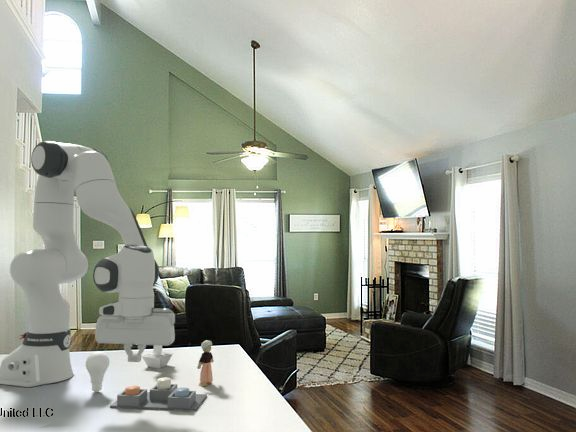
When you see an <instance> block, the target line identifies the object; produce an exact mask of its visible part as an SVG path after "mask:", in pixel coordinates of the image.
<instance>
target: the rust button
mask: <svg viewBox="0 0 576 432" xmlns="http://www.w3.org/2000/svg"><path fill="white" fill-rule="evenodd" d="M140 389H141V387H140V386H138V385H131V386H126V387H125V388H124V390H125V395H139V394H140Z"/></svg>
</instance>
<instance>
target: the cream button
mask: <svg viewBox="0 0 576 432" xmlns="http://www.w3.org/2000/svg"><path fill="white" fill-rule="evenodd" d="M156 384H157V390H170V389H171V384H172V378H170V377H166V376H165V377H159V378H157V380H156Z"/></svg>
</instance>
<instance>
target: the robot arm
mask: <svg viewBox="0 0 576 432" xmlns="http://www.w3.org/2000/svg"><path fill="white" fill-rule="evenodd" d="M30 157H31V158H30V160H31V163H30V164H31V166H32V168H33V171H34V172H35V173H36V174H37V175H38V178H37V180H36V185H35V190H34V191H35V192H34V200H33V216H32V217H33V221H32V227H33V230H34V231H35V233H36V234H37V235H39V236H40V237H41V239H42V241H43V245H44V248H38V249H37V248H35V249H30V250H27V251H24V252H19V253H18V254H16V255H15V256H14V257H13V259H12V261H11V262H10V264H9V265H10V266H9V272H10V273H9V274H10V276H11V278H12V281H14V282H15V284H17V285H18V286H19V287H20V288H21V289H22V291H23V293H24V294H25V297H26V300H27V303H28V304H27V305H28V331H26V332H24V333H23V334H20V335H19V337H20V338H19V340H23V341H22V344H20V345H19V346H18V347H17V348H15V349H14V350H13V351H11V352H9V354H8V355H6V356H5V357H4V358H3V359H2V360H1V363H0V385H7V386H8V385H9V386H15V387H25V388H31V387H32V388H33V387H36V386H40V385H47V384H53V383H54V384H55V383H58V382H62V381H66V380H68V379H70V378H72V377H73V376H74V372H73V371H74V370H73V368H72V364H71V363H72V362H71V355H70V348H71V347H70V346H71V335H72V334H71V333H72V332H71V331H72V330H71V329H70V315H71V313H70V312H71V305H70V302H69V301H68V300H67V299H65V298H64V297H63V296H62V293H61V291H60V285H61V284H69V283H72V282H75V281H78V280H80V279H82V278H83V277H84V276H85V275H86V274H87V272H88V268H89V261H88V258H87V256H86V255H85V253H83V252H82V250H81V249H80V247H79V245H78V242H77V239H76V236H75V235H76V234H75V229H74V228H75V226H74V215H75V214H74V209H75V196H76V201H77V203H78V206H79V208H80V210H81V211H82V212H83V214H85V216H88V217H89V218H91V219H93V220H96V221H99V222H101V223H103V224H106V225H107V226H110V227H111V228H113V229H114V230H116V232H118V234H120V236H121V239H122V242H123V244H124V246H123V247H122V248H121V250H120V251H117V253H114V254H112V255H109V256H107V257H103V258H101V259H100V260H98V261H97V263H96V264H95V266H94V269H93V274H92V275H93V276H92V278H93V282H94V286H95V287H96V288H97V290H99V291H100V292H102V293H108V294H109V293H118V301H117V300H116V301H113V302H111V303H108V304H106V305H103V306H100V307H99V308H98V309H99V311H98V313H99V317H98V318H97V321H96V325H95V333H94V339H95V341H96V342H97V344H110V345H111V344H114V345H115V344H116V345H123V350H124V352H125V353H126V355H127V362H128V363H129V362H130V363H133V362H134V363H140V362H141V361H142V355H143V353H144V351H145V350H146V348H147V346H154V345H161V346H162V347H163V346H165V347H166V346H167V347H168V346H170V345H172V344H173V343H174V342H175V339H176V338H175V337H176V333H175V324H176V313H174V311H173V310H171V309H170V308H168V307H167V308H161V307H159V308H158V307H155V292H154V286H155V285H156V283H157V282H158V280H159V276H160V268H159V265H158V263H157V260H156V259H155V255H154V252H153V250H152V249H151V247H148V245H147V242H146V238H145V235H144V234H143V232H142V229H141V227H140V225H139V222H138V219H137V217H136V215H135V213H134V210H132V208H131V207H130V206H129V205H128V204H127V203H126V202H125V200H124V199H123V197H122V195H121V194H120V192H119V190H118V189H119V188H118V187H117V183H116V179H115V176H114V173H113V170H112V167H111V166H110V163H109V160H108V157H107V155H106V154H105V153H104V152H103V151H101V150H99V149H97V148H91V147H87V146H84V145H80V144H75V143H65V142H56V141H53V140H52V141H51V140H46V141H45V140H44V141H40V142H39V143H37V144H36V145H35V147H34V148H33V149H32V151H31V156H30ZM133 345H137V349H138V352H137V353H134V352H133V350H132V347H133Z"/></svg>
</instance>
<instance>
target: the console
mask: <svg viewBox="0 0 576 432" xmlns="http://www.w3.org/2000/svg"><path fill="white" fill-rule="evenodd" d="M177 388H178V383H171V389H170V390H157V383H156V384H154V386H152V388H150V389H149V391H148V388H140V394H139V395H125V389H123V390H122V391H121V392H119V394H117V397H116V401H114V402H113V403H112V404H110V405H109V408H111V409H112V408H113V409H114V408H115V409H134V410H135V409H136V410H137V409H138V410H139V409H140V410H159V411H161V410H162V411H183V412H184V411H186V412H196V411H198V409H199V408H200V406H201V405H202V403H203V402H204V401H205V399H206V398H207V397H208V394H205V393H204V394H202V393H197V391H196V390H189V397H175V389H177Z"/></svg>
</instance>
